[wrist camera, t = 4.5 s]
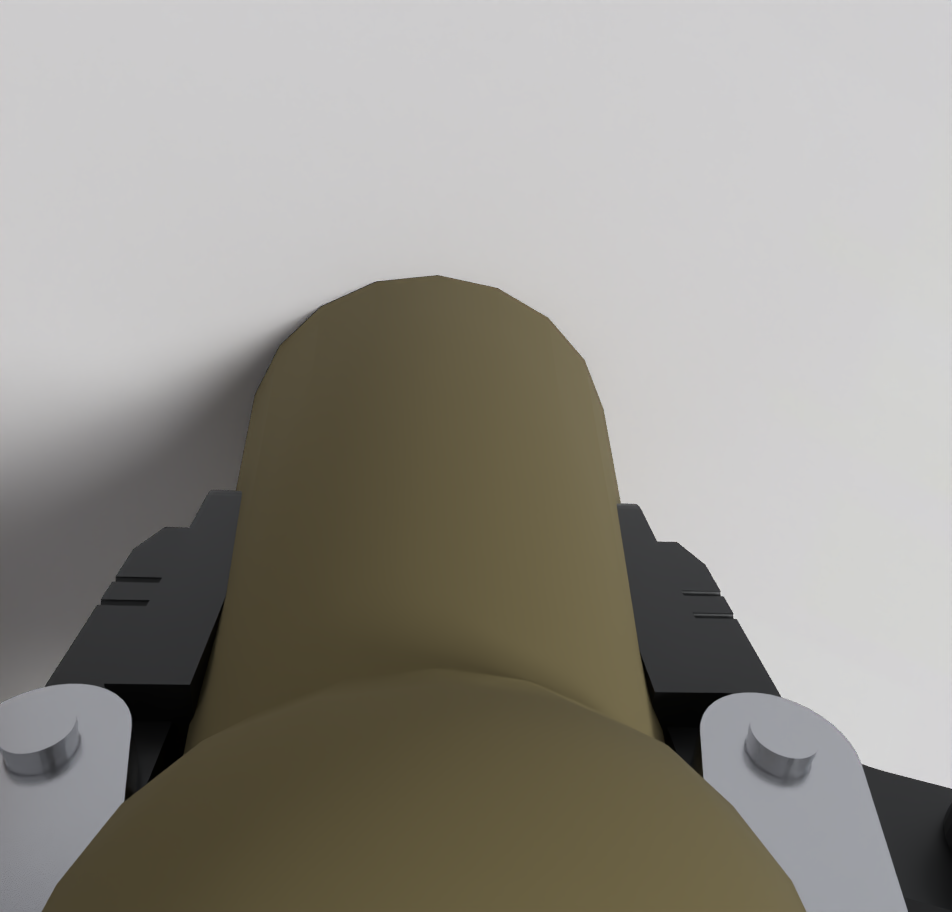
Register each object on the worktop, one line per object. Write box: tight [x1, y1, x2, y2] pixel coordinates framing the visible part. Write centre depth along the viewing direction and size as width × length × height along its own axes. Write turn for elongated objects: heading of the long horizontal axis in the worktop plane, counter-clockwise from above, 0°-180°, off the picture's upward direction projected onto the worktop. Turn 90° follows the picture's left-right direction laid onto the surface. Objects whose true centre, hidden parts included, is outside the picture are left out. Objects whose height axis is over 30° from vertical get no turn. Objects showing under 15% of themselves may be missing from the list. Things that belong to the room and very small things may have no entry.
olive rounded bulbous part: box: [42, 275, 806, 912], centre depth 8 cm, size 6×6×11 cm
